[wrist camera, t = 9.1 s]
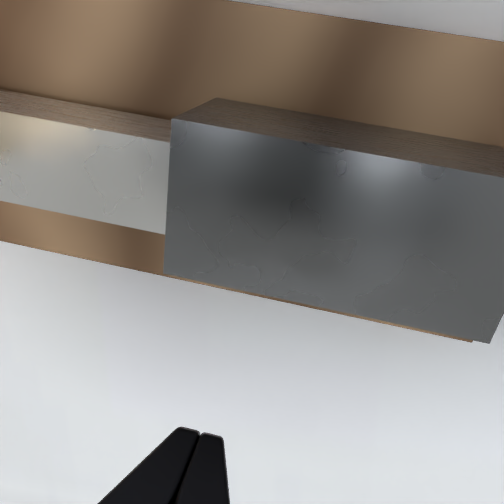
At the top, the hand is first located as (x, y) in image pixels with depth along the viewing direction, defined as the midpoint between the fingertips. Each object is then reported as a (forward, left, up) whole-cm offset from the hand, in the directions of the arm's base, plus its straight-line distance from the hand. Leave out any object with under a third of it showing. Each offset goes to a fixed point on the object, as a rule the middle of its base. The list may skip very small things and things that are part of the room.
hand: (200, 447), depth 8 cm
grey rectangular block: (-2, -2, -11) cm, 11 cm away
